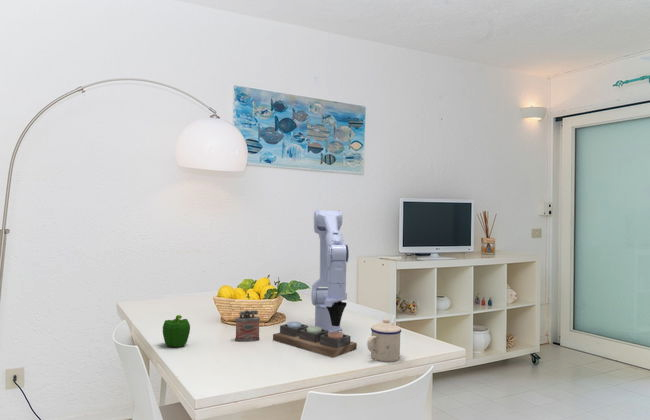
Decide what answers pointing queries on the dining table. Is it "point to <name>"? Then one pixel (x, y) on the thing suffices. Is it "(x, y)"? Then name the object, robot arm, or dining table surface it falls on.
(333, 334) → the button terracotta
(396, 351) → the teacup with lid
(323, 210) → the robot arm
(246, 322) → the lighter
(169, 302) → the dining table surface
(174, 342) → the bell pepper
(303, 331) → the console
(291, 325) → the button slate
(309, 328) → the button sage
